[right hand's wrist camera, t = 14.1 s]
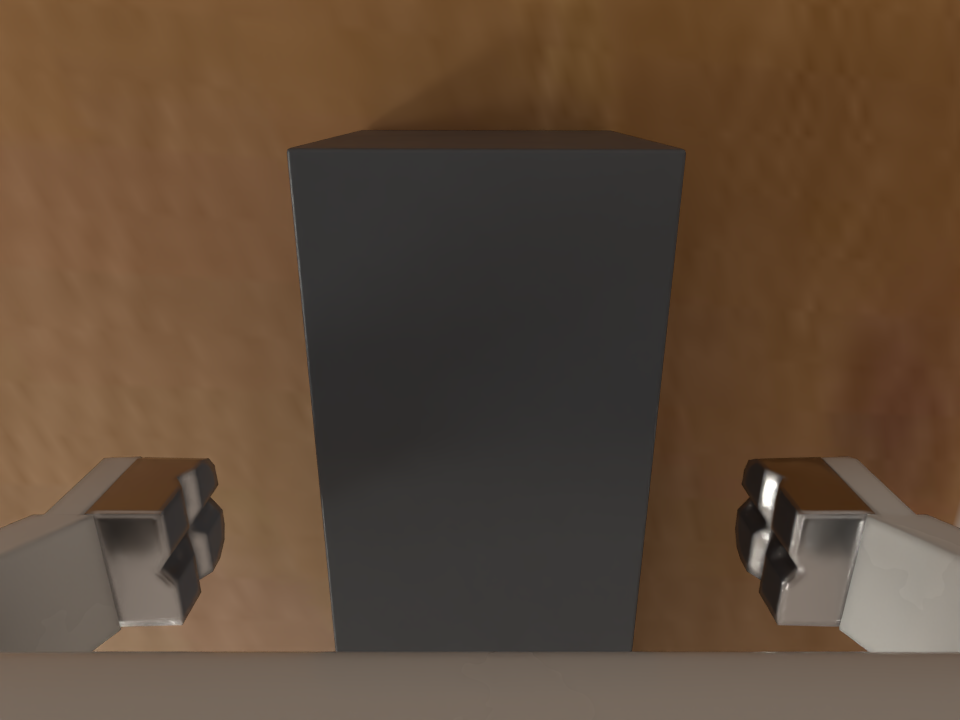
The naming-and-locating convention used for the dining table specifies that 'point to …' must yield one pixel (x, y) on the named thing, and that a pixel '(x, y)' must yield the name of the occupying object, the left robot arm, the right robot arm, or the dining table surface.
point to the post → (485, 379)
